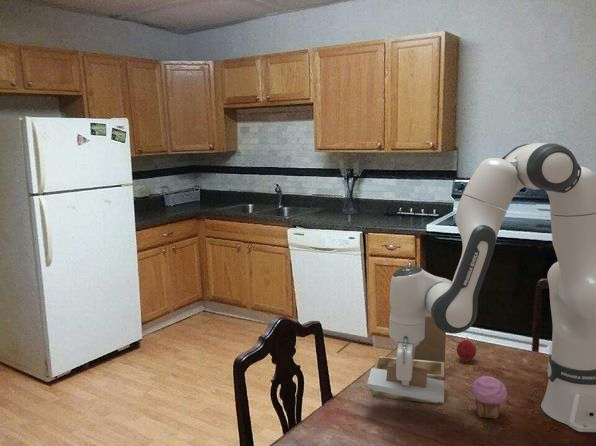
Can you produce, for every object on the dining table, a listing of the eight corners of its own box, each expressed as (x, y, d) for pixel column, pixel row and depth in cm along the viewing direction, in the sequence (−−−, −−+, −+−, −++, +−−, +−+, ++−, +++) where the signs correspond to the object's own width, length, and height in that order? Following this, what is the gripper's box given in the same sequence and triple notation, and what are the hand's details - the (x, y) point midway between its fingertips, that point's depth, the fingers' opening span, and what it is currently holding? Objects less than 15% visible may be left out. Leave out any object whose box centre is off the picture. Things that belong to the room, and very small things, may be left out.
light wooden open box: (443, 388, 146) (444, 362, 144) (443, 404, 137) (444, 376, 136) (377, 381, 151) (377, 356, 150) (373, 396, 142) (373, 369, 141)
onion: (478, 365, 160) (479, 341, 158) (459, 365, 160) (460, 341, 158) (472, 357, 165) (473, 334, 164) (454, 357, 165) (455, 334, 164)
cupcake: (470, 421, 129) (471, 384, 127) (468, 403, 137) (469, 369, 136) (508, 425, 127) (509, 388, 125) (503, 407, 135) (505, 372, 133)
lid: (443, 388, 134) (445, 366, 132) (443, 406, 125) (446, 383, 124) (371, 375, 138) (373, 354, 137) (366, 391, 130) (368, 369, 129)
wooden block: (444, 380, 150) (446, 316, 147) (410, 378, 152) (411, 314, 149) (442, 365, 160) (443, 304, 157) (409, 363, 162) (410, 303, 159)
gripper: (417, 347, 118) (416, 402, 121) (421, 317, 137) (420, 365, 140) (390, 345, 120) (389, 399, 122) (397, 315, 139) (397, 362, 142)
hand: (406, 380), depth 131 cm, fingers closed on lid, 2 cm apart
